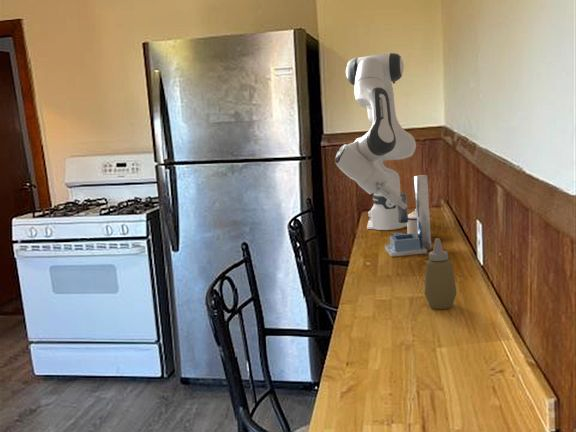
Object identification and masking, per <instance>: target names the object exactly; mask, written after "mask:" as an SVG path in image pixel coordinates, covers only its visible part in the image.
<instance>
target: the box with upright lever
mask: <svg viewBox="0 0 576 432" xmlns="http://www.w3.org/2000/svg"><path fill="white" fill-rule="evenodd" d="M413 182H414V196H415V209H416V215H417V231H418V236H417V235H415V234H414V233H410V234H407V233H403V231H401V232H400V231H399V232H393V235H391V234H390V235H389V244H384V249H385V250H386V252H387V253H388V255H389V256H390V257H391V258H393V257H404V256H411V255H422V254H427V253H428V251H430V250H432V235H431V234H430V229H431V216H430V217H429V214H430V206H429V205H430V204H429V186H428V183H429V182H428V175H427V174H420V175H418V174H417V175H415V176H413Z"/></svg>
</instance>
